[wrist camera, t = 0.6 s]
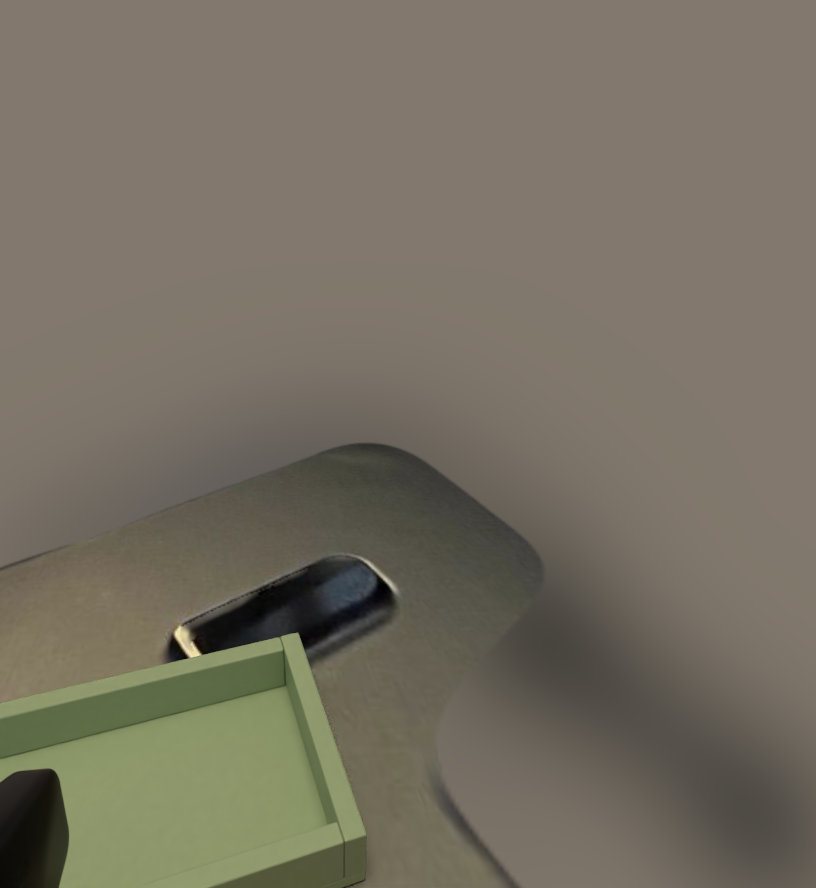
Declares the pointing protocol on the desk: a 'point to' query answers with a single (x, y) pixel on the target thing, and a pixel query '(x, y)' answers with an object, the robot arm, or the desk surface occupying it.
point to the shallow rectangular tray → (196, 774)
